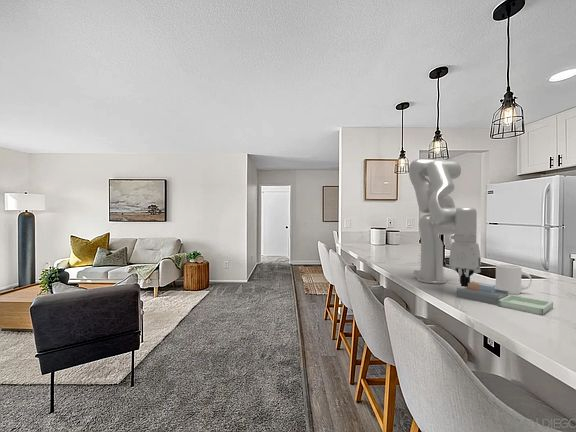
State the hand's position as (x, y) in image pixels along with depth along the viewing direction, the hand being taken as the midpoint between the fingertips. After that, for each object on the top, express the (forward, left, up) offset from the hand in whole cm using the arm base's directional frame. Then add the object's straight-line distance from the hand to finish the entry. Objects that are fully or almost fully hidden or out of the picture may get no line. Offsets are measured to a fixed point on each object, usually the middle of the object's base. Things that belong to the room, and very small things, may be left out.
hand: (464, 286), depth 123 cm
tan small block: (+4, 0, -1) cm, 4 cm away
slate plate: (+6, 0, -4) cm, 7 cm away
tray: (+19, 0, -4) cm, 20 cm away
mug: (+10, +21, -4) cm, 24 cm away
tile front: (+8, 0, -1) cm, 8 cm away
